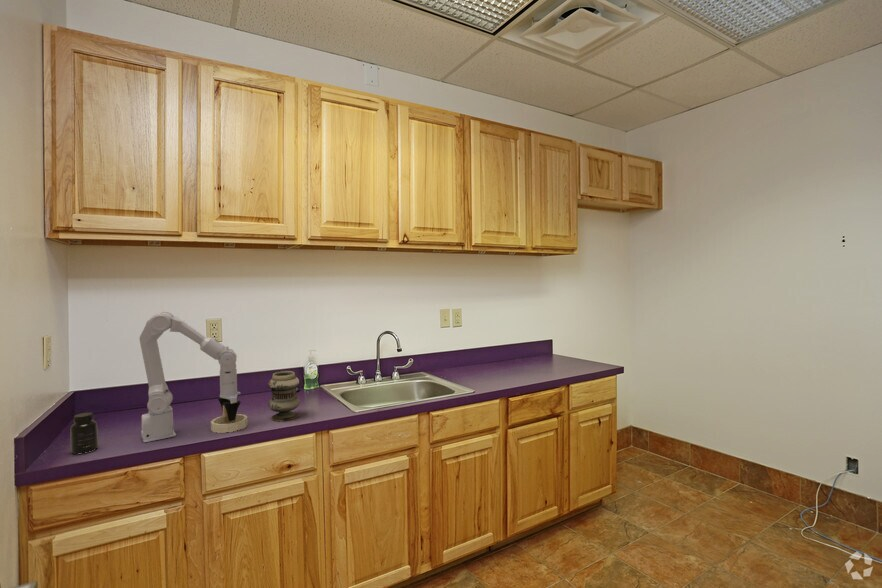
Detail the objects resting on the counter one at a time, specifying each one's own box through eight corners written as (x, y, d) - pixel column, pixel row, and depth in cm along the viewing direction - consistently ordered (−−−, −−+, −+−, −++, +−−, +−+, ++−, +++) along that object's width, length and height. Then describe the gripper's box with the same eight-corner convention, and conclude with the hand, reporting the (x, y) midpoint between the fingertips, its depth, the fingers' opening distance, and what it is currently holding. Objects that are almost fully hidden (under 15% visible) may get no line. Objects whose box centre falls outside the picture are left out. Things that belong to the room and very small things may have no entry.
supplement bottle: (69, 451, 139) (67, 415, 139) (95, 445, 144) (94, 410, 144) (73, 457, 134) (71, 419, 134) (100, 450, 140) (99, 414, 139)
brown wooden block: (224, 427, 159) (224, 406, 158) (223, 426, 160) (222, 405, 160) (236, 425, 161) (235, 404, 161) (234, 423, 163) (234, 403, 162)
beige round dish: (215, 435, 152) (215, 427, 152) (208, 426, 161) (208, 418, 161) (251, 427, 160) (250, 419, 160) (242, 419, 169) (242, 412, 169)
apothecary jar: (272, 424, 163) (271, 377, 163) (265, 416, 173) (264, 372, 173) (304, 418, 170) (303, 373, 169) (296, 410, 180) (295, 368, 179)
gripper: (245, 384, 157) (246, 420, 157) (234, 377, 168) (235, 411, 169) (224, 387, 152) (225, 424, 153) (215, 380, 164) (216, 414, 164)
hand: (229, 417), depth 160 cm, fingers open, 7 cm apart
